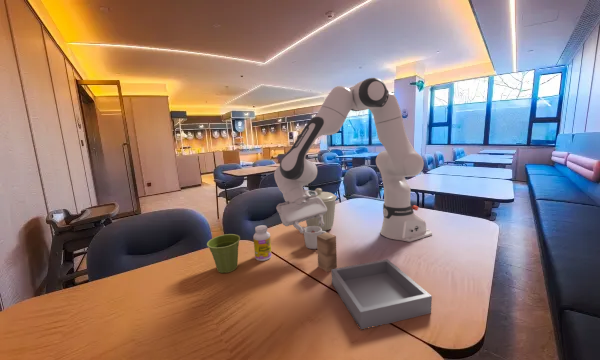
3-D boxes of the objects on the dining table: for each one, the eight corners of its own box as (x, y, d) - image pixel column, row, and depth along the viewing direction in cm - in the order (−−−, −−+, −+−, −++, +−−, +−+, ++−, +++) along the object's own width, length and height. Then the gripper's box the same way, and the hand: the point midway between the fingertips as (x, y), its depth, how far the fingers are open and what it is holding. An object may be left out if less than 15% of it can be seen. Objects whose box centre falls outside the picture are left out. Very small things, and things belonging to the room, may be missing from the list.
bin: (387, 272, 83) (387, 259, 82) (431, 313, 63) (431, 295, 63) (331, 283, 78) (331, 269, 78) (360, 330, 59) (360, 312, 58)
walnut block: (327, 262, 92) (326, 232, 90) (336, 267, 88) (335, 236, 86) (318, 266, 89) (316, 235, 87) (327, 272, 85) (325, 239, 83)
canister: (339, 234, 117) (338, 191, 113) (302, 235, 117) (300, 193, 114) (335, 221, 134) (334, 183, 131) (302, 222, 135) (300, 185, 131)
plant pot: (223, 258, 99) (220, 232, 97) (249, 262, 95) (246, 235, 93) (203, 274, 88) (199, 245, 86) (231, 279, 84) (227, 249, 82)
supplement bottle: (258, 263, 94) (255, 231, 91) (253, 256, 100) (250, 226, 97) (274, 258, 97) (271, 228, 94) (268, 252, 103) (266, 223, 100)
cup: (328, 242, 108) (328, 225, 107) (329, 250, 101) (328, 232, 99) (304, 242, 109) (303, 225, 108) (303, 251, 102) (302, 233, 100)
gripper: (277, 200, 90) (293, 232, 84) (319, 190, 102) (336, 218, 96) (272, 209, 94) (287, 240, 88) (313, 199, 106) (329, 226, 100)
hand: (313, 229), depth 92 cm, fingers open, 8 cm apart
